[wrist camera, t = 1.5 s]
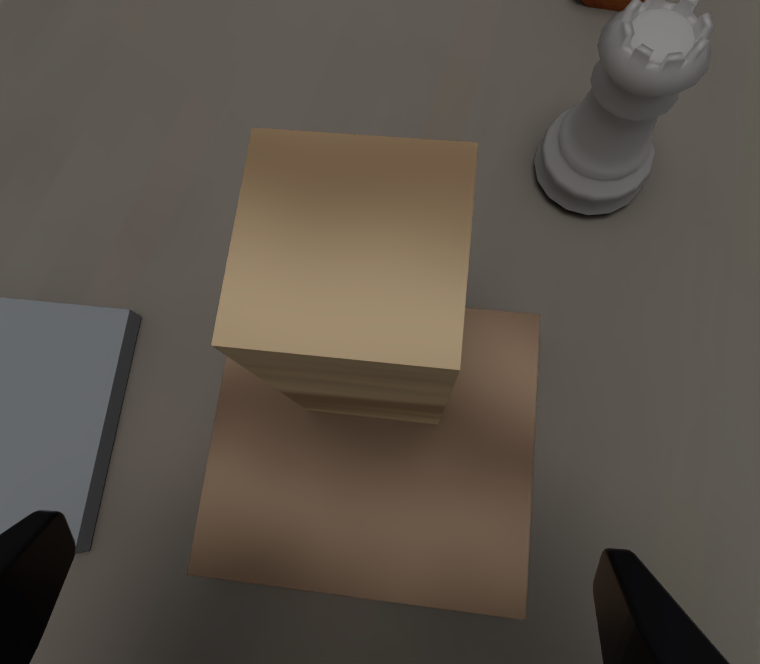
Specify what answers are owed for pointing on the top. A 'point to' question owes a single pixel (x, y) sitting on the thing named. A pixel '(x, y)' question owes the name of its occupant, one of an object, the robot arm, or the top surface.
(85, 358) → the slate tile
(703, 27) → the rook chess piece
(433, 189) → the oak block
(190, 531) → the top surface
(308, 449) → the walnut ledge
